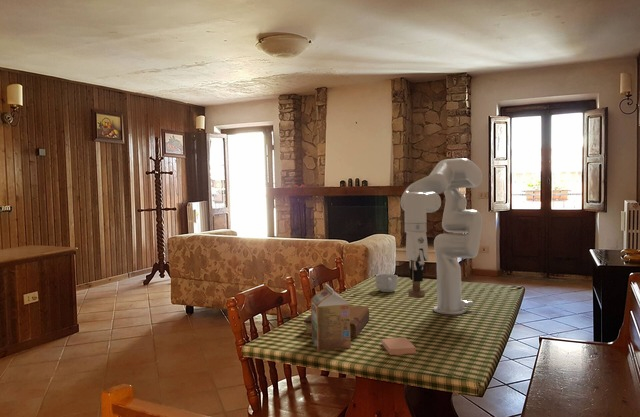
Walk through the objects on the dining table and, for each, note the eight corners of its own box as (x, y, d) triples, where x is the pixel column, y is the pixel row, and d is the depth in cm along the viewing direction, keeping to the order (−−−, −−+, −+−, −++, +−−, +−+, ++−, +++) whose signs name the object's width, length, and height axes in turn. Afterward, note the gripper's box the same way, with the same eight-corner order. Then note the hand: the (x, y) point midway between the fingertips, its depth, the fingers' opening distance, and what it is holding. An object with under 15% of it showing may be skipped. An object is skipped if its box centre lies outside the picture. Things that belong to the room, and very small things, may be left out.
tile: (405, 337, 153) (415, 347, 143) (405, 343, 153) (415, 354, 143) (381, 339, 152) (390, 349, 142) (381, 345, 152) (390, 356, 142)
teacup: (376, 288, 236) (375, 273, 236) (397, 288, 235) (397, 273, 234) (375, 295, 222) (375, 278, 222) (398, 295, 221) (398, 278, 221)
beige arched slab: (356, 340, 158) (355, 323, 158) (304, 336, 164) (303, 320, 164) (369, 321, 180) (369, 306, 180) (323, 318, 186) (322, 304, 186)
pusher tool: (421, 294, 167) (420, 254, 166) (427, 297, 161) (426, 256, 161) (406, 294, 166) (405, 255, 165) (411, 298, 160) (410, 257, 160)
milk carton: (350, 347, 149) (349, 288, 149) (318, 350, 147) (316, 291, 146) (342, 337, 160) (340, 282, 159) (311, 340, 158) (310, 284, 157)
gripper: (435, 229, 155) (435, 284, 156) (417, 226, 171) (418, 276, 172) (413, 230, 154) (414, 285, 155) (398, 226, 170) (398, 277, 171)
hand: (416, 280), depth 163 cm, fingers closed on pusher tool, 2 cm apart
